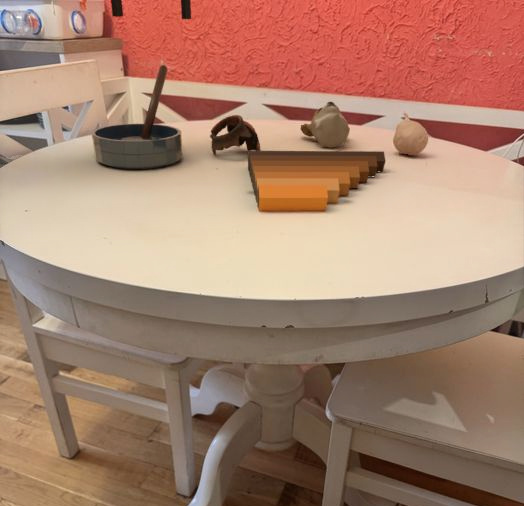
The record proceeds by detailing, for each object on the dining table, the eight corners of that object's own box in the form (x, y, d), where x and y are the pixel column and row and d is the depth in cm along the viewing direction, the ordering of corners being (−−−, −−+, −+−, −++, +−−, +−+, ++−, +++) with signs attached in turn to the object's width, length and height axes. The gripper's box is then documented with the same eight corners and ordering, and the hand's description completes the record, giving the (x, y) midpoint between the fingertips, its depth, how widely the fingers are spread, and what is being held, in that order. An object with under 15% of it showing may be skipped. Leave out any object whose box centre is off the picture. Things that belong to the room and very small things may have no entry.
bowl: (79, 166, 91) (74, 136, 88) (121, 147, 104) (118, 121, 101) (162, 174, 88) (159, 144, 85) (194, 153, 101) (193, 127, 98)
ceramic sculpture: (312, 104, 101) (300, 98, 114) (309, 149, 105) (297, 139, 118) (363, 105, 102) (345, 99, 115) (358, 150, 106) (341, 139, 119)
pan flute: (378, 167, 95) (247, 167, 93) (381, 149, 93) (247, 148, 91) (424, 211, 75) (259, 212, 73) (429, 188, 73) (259, 188, 71)
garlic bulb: (418, 151, 108) (426, 111, 103) (427, 158, 102) (436, 116, 98) (388, 151, 107) (395, 110, 103) (396, 158, 102) (403, 115, 98)
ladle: (148, 161, 92) (139, 73, 84) (116, 158, 94) (105, 71, 85) (184, 142, 106) (179, 65, 98) (156, 140, 108) (149, 63, 100)
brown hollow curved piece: (267, 162, 98) (249, 125, 92) (224, 182, 101) (204, 147, 95) (260, 133, 106) (244, 97, 100) (221, 153, 108) (202, 119, 102)
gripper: (220, -138, 80) (222, 20, 92) (81, -135, 85) (100, 15, 97) (204, -151, 74) (209, 20, 86) (55, -146, 79) (79, 15, 91)
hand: (151, 18), depth 92 cm, fingers open, 13 cm apart
